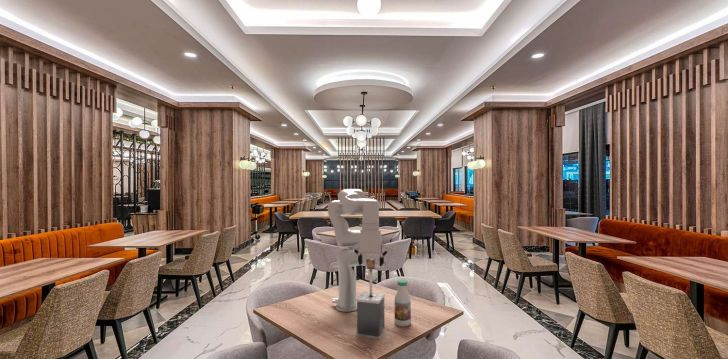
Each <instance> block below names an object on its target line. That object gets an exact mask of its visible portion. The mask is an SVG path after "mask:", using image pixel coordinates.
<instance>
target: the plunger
mask: <svg viewBox="0 0 728 359" xmlns="http://www.w3.org/2000/svg"><path fill="white" fill-rule="evenodd" d="M365 265H366V270H369V292H370V297H372V292H373V270H375V269H376V258H372V257H369V258H368V259H366V264H365Z"/></svg>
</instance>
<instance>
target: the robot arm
mask: <svg viewBox="0 0 728 359" xmlns="http://www.w3.org/2000/svg"><path fill="white" fill-rule="evenodd" d="M379 204H380V203H379V201H378V199H372V198H365V192H364V191H363V190H362V189H359V188H344V189H342V190H340V191H339V192H338V195H337V200H336V199H335V200H331V201H330V202H329V203H328V205H327V214H328V217H329V219H330V222H331V223H332V226H333V231H334V237H335V241H336V244H337V246H338V247H339V248H342V249H340V250H338V251H337V254H336V261H337V268H338V270H337V271H338V298H336V297H332V299H331V302H332V304H335V309H336V310H337V311H339V312H345V313H348V312H349V313H351V312H355V311H357V301H356V299H357V274H356V271H355V270H354V269H353V267H358V266H364V265H366V259H368V258H370V257H369V256H370V254H378V255H379V256H380V257H379V267H382V266H383V265H384V264H385V256H386V255H387V254H388V253H389V250H390V246H389V245H387V244H386V243H383V237H382V232H381V231H382V230H381V229H380V206H379ZM342 215H345V216H346V215H349V216H355V215H356V216H359V215H361V218H362V220H361V221H362V223H359V228H361V229H360V230H359V229H350V228H349V227H350V226H349V223H348V221H347V220H346V219H345V217H343V216H342ZM383 248H384V249H385V250H384V251H383Z"/></svg>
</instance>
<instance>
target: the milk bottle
mask: <svg viewBox="0 0 728 359" xmlns="http://www.w3.org/2000/svg"><path fill="white" fill-rule="evenodd" d="M396 290H397V291H396V293H395V295H394V309H393V310H394V324H395V325H396V326H398V327H409V326H410V325H411V322H412V309H411V308H412V307H411V302H412V301H411V296H410V293H409V291H408V281H407V280H405V279H404V280H403V279H399V280H398V281H397V289H396Z"/></svg>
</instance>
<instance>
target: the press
mask: <svg viewBox="0 0 728 359" xmlns="http://www.w3.org/2000/svg"><path fill="white" fill-rule="evenodd" d="M385 296H386V293H381V292H373V291H372V297H370V291H362V292H361V294H359V296H358V297H356V303H357V310H356V337H361V338H367V339H373V340H374V339H375V340H380V339H381V337H382V336H383V334H384V332H385V330H386V326H385V318H386V317H385V315H386V314H385Z"/></svg>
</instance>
